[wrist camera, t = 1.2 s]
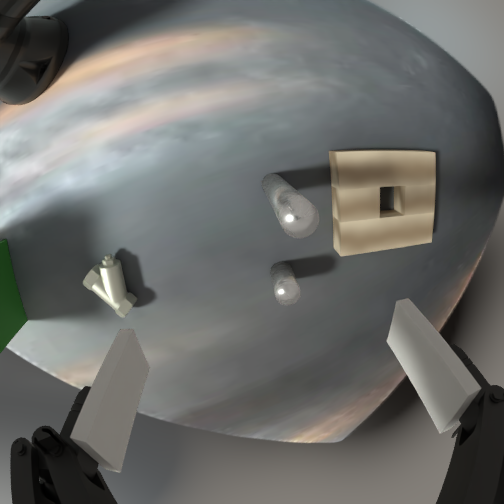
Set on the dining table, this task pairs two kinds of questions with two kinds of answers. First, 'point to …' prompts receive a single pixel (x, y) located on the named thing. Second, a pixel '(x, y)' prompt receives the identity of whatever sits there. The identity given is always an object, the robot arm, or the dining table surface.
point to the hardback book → (9, 299)
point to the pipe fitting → (110, 285)
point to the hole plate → (368, 199)
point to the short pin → (284, 283)
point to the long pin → (290, 207)
